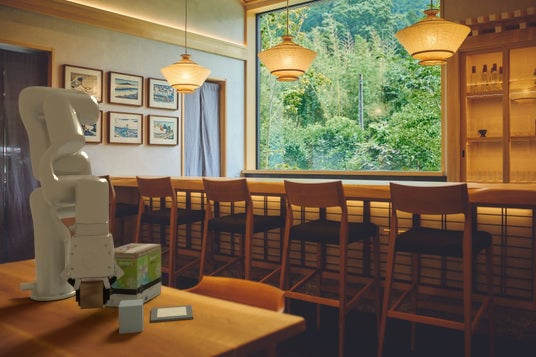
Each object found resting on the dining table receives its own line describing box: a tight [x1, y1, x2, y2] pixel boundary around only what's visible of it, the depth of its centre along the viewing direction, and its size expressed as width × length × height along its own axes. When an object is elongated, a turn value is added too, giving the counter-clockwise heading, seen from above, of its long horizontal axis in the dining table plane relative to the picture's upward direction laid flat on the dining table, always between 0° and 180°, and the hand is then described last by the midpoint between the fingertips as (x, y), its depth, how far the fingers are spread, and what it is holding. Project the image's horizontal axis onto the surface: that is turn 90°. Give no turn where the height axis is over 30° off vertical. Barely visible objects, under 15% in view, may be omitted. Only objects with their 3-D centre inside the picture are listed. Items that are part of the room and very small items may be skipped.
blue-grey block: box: [118, 299, 145, 334], centre depth 108 cm, size 5×5×6 cm
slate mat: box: [149, 304, 194, 323], centre depth 119 cm, size 10×10×1 cm
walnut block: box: [79, 278, 105, 310], centre depth 116 cm, size 5×5×6 cm
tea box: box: [103, 242, 162, 308], centre depth 132 cm, size 15×10×15 cm, turn 168°
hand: (93, 303), depth 116 cm, fingers closed on walnut block, 5 cm apart
